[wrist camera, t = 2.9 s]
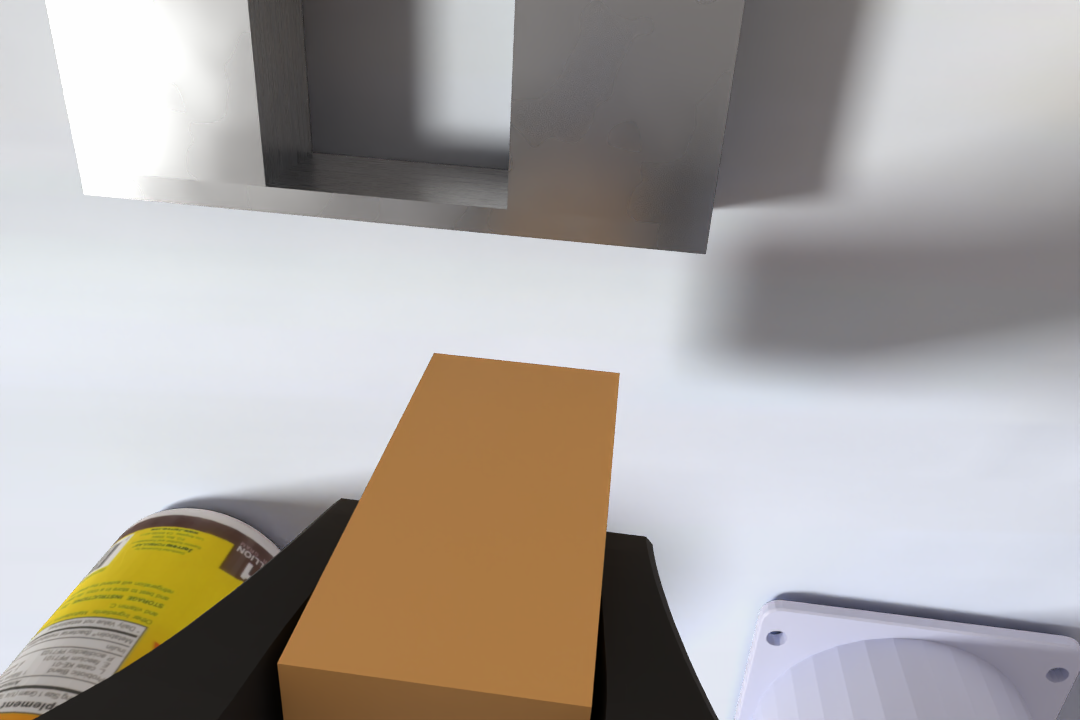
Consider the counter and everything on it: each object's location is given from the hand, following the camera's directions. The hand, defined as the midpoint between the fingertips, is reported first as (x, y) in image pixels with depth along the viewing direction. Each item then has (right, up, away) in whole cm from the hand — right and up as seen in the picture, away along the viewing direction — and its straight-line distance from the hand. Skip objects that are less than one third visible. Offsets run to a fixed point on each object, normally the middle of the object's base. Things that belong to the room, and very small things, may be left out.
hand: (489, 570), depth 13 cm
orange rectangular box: (0, +2, +3) cm, 3 cm away
